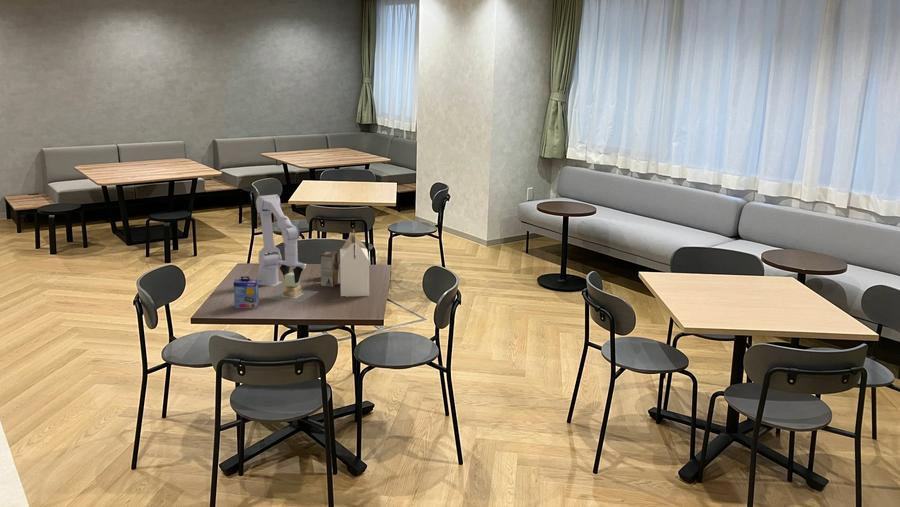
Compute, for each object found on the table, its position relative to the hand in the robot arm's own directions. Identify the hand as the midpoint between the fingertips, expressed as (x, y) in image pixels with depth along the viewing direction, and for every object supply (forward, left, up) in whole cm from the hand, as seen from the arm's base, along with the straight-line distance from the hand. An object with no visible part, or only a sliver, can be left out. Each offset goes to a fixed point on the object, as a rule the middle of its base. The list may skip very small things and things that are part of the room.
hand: (292, 281), depth 344 cm
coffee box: (+8, +23, -7) cm, 25 cm away
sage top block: (0, 0, -2) cm, 2 cm away
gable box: (+22, +20, -7) cm, 31 cm away
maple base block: (0, 0, -6) cm, 6 cm away
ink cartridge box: (-11, -21, -7) cm, 25 cm away
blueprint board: (0, 0, -7) cm, 7 cm away
